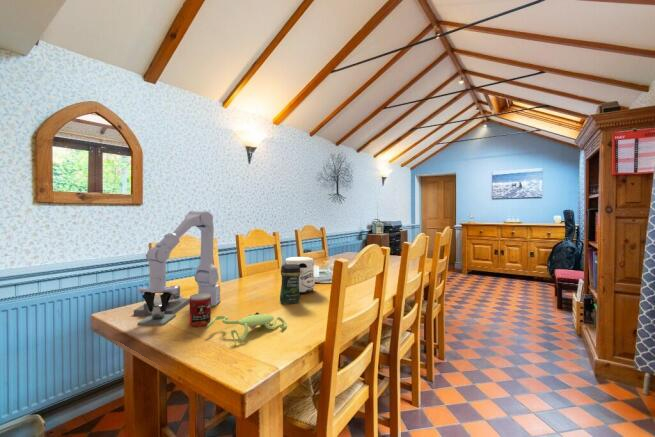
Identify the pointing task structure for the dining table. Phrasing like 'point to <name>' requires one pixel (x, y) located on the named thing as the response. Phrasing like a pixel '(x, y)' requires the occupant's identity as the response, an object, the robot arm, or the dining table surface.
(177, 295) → the block
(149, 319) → the rubber mat
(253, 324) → the figurine
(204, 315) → the canned food
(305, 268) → the milk container
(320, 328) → the dining table surface
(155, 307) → the steel weight
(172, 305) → the scale housing
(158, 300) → the scale pan
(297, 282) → the coffee jar
